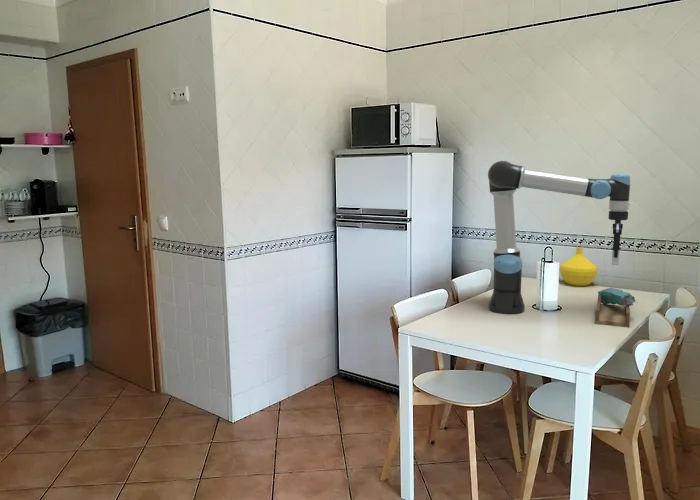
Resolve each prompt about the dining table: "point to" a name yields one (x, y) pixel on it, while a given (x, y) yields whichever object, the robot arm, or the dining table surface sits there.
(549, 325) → the dining table surface
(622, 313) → the tray
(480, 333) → the dining table surface
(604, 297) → the building
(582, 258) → the vase
